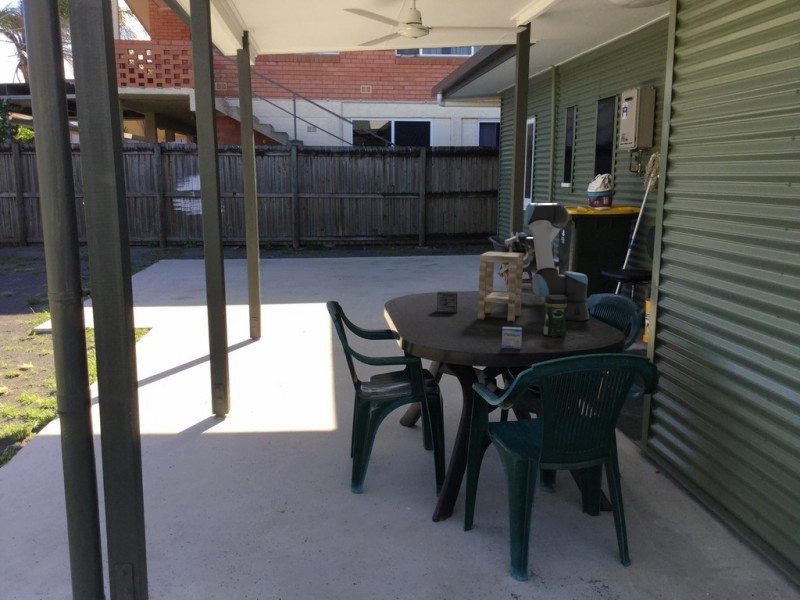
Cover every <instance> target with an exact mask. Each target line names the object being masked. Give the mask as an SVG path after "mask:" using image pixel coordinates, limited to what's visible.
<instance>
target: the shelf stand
mask: <svg viewBox="0 0 800 600" xmlns="http://www.w3.org/2000/svg"><path fill="white" fill-rule="evenodd" d="M523 255H524V253H513V252H507V251H506V252H504V251H486V252H484V253H482V254H481V253H480V254H479V276H478V279H479V280H478V298H477V299H478V305H477V306H478V307H477V319H478V320H484V318H485V319H486V314H489V313H491V314H493V304H494V303H499V304H507V320H506V321H507V322H509V321H513V322H512V323H514V322H515V321H516V320H515V319H516V318H515V317H520V316H522V315H521V313H522V290H523V274H524V272H523V271H524V268H523ZM495 263H503V264H509V274H508V275H509V278H508V292H499V291H494V279H495V278H494V276H495V270H494V269H495Z"/></svg>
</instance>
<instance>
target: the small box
mask: <svg viewBox="0 0 800 600" xmlns="http://www.w3.org/2000/svg"><path fill="white" fill-rule="evenodd" d="M436 294H437V296H436V297H437V298H436V299H437V300H436V301H437V302H436V313H439V314H442V313H443V314H458V291H437V293H436Z"/></svg>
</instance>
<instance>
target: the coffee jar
mask: <svg viewBox="0 0 800 600" xmlns="http://www.w3.org/2000/svg"><path fill="white" fill-rule="evenodd" d="M544 299H545V300H544V306H545V317H544V323H543V324H544V325H543V330H542V331H543V335H544V336H546V337H550V336H552V337H553V338H558V336H561V337H565V336H566V333H567V330H566V320H565V309H566V306H567V298H566V296H564V295H546V298H544ZM556 336H557V337H556ZM552 337H551V338H552Z"/></svg>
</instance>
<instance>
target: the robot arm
mask: <svg viewBox="0 0 800 600" xmlns="http://www.w3.org/2000/svg"><path fill="white" fill-rule="evenodd" d="M523 216H524V218H523V222H524V223H523V224H524V225H525V226H528V229H529V230H530V231H531V232H532V236H528V233H525V232H517V231H516V232H515V235H514V231H511V232H510V235H509V237H508V238H507V239H510V238H512V237H514V236H516V239H517V241H515V242H513V243H511V244H509V245H508V244H506V249H507V250H509V249H511V250H512V251H513V252H512V253H524V255H523V269H525V268H527V267H529V266H530V265H531V258H530V252H529V251H534V255H535V260H536V269H537V270H536V271H535V272H534V275H533V276H532V280H531V282H532V284H531V286H532V290H533V293H534V294H535V296H537V297H538V298H544V299H545V298H546V295H564V296H566V298H567V306H566V309H565V321H574V322H576V321H578V322H580V321H582V322H583V321H587V320H589V318H590V313H589V310H588V305H587V298H588V297H587V294H588V286H589V285H588V284H589V283H588V276H587V275H586V274H584V273H581V272H575V271H570V270H569V271H568V270H566V271H564V272H563V274H561V273H560V274H559V269H557V267H555V261H554V254H553V248H554V239H555V238H556V236H557V235H558V234H559V233H560V231H561V230H562V229H563V228H565V227H566V226H567V224H568V223H569V220H570V214H569V212H568V210H567V208H566V207H565V206H564V205H562V204H560V203H557V202H530V203H528V204H527V205H526V207H525V211H524V215H523Z"/></svg>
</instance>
